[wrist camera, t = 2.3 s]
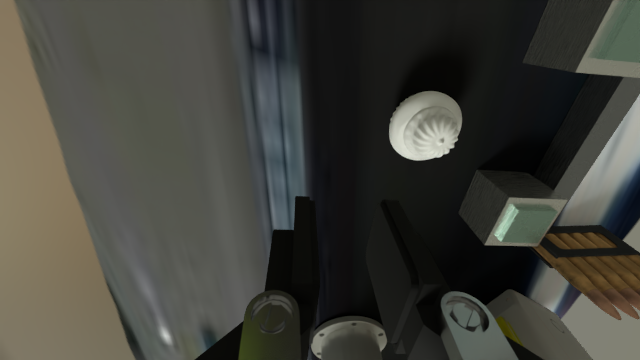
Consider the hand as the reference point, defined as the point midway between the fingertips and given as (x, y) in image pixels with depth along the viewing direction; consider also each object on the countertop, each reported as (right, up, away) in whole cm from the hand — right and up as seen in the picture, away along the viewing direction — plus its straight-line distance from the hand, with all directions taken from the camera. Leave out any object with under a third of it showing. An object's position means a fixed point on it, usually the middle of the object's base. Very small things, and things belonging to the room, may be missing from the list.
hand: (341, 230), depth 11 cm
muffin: (+8, +8, +16) cm, 20 cm away
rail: (+22, +8, +17) cm, 28 cm away
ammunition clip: (+31, -5, +25) cm, 40 cm away
